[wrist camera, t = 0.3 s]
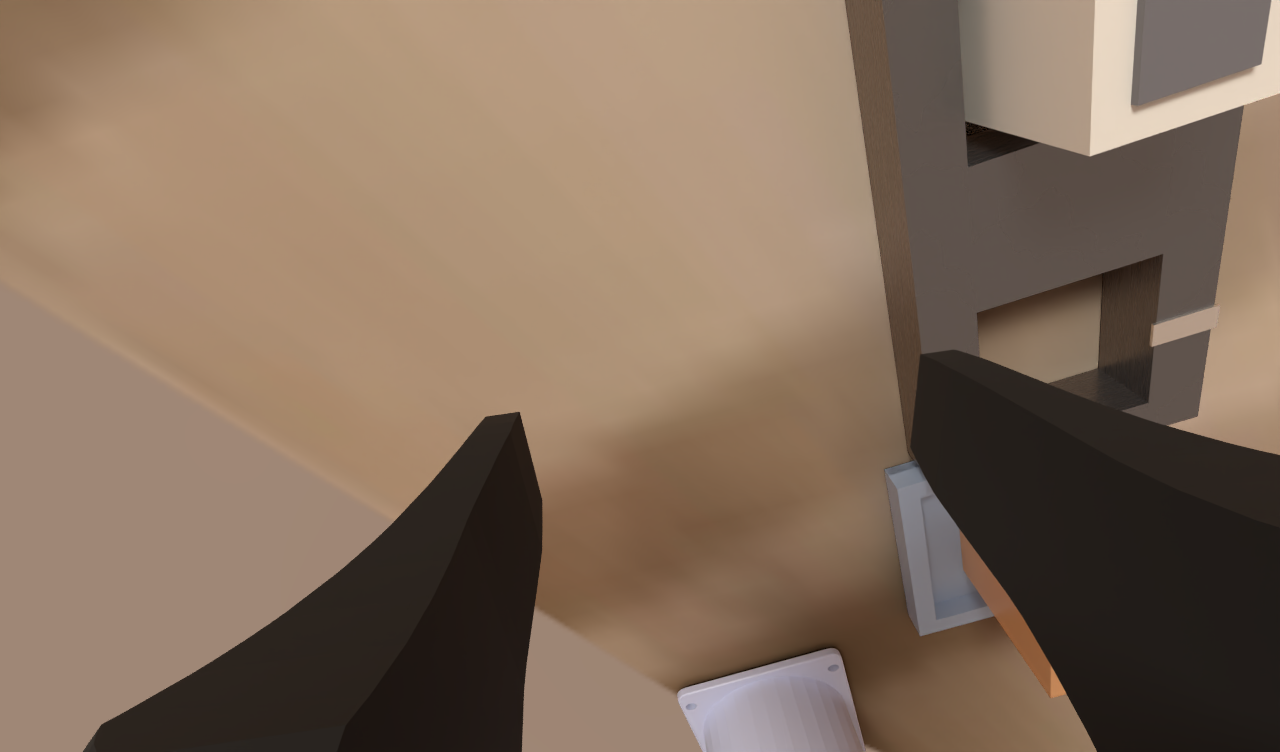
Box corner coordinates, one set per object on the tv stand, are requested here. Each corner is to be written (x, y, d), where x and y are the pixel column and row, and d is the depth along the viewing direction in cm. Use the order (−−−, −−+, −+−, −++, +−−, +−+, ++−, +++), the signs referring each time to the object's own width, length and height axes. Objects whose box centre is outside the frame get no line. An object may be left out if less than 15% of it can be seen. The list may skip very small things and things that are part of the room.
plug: (1055, 543, 27) (1171, 672, 22) (962, 569, 28) (1054, 703, 22) (1056, 474, 25) (1183, 597, 20) (956, 503, 26) (1054, 632, 20)
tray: (1105, 559, 29) (1125, 580, 28) (908, 614, 30) (920, 636, 29) (1116, 399, 24) (1140, 417, 23) (884, 469, 25) (897, 489, 24)
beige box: (1087, 68, 18) (1295, 92, 13) (949, 116, 19) (1096, 158, 13) (1092, -95, 16) (1340, -149, 11) (938, -39, 17) (1104, -62, 11)
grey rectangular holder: (1147, 380, 24) (1202, 417, 22) (908, 452, 25) (938, 494, 23) (1206, -235, 15) (1310, -276, 13) (832, -93, 16) (871, -109, 14)
